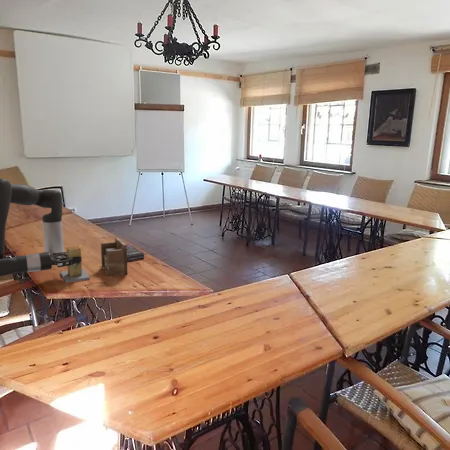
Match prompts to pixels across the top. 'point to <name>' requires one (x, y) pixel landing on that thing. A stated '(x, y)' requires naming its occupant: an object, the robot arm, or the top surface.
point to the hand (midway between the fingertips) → (79, 257)
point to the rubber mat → (74, 277)
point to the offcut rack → (114, 257)
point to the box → (133, 253)
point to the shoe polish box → (75, 267)
